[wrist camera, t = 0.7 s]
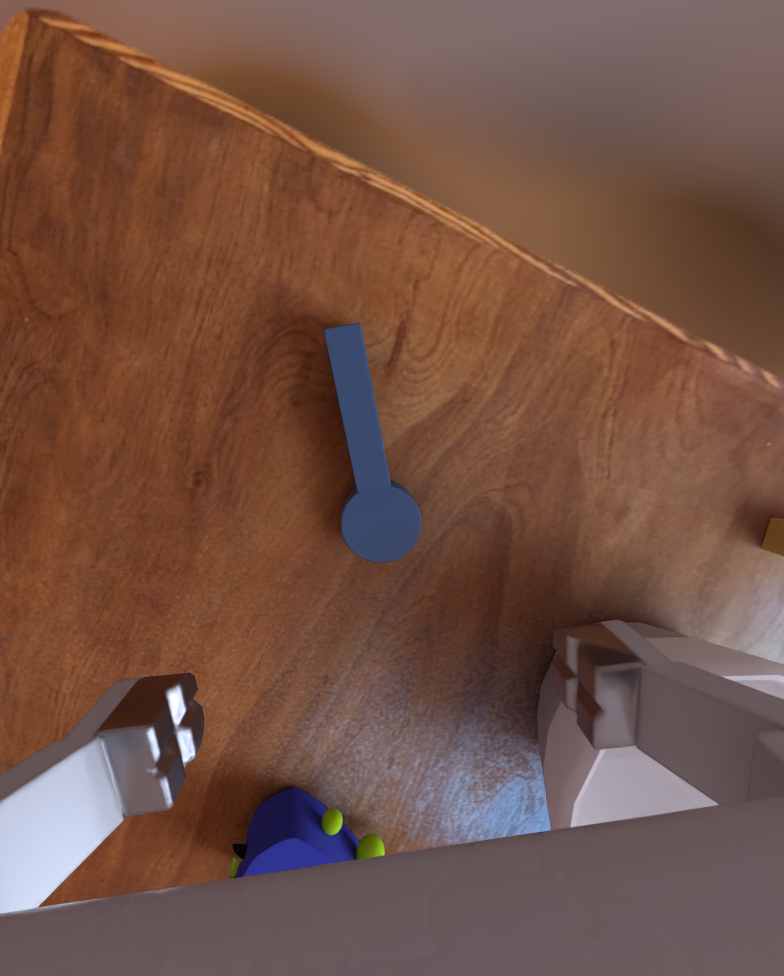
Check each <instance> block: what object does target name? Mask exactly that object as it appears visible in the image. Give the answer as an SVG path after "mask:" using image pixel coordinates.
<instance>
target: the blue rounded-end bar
mask: <svg viewBox="0 0 784 976" xmlns="http://www.w3.org/2000/svg"><path fill="white" fill-rule="evenodd" d="M323 331H324V336H325V341H326V345H327V350H328V355H329V360H330V364H331V369H332V374H333V379H334V384H335V388H336V393H337V398H338V403H339V407H340V412H341V417H342V422H343V427H344V431H345V436H346V441H347V446H348V450H349V455H350V460H351V465H352V470H353V474H354V479H355V484H356V488H355V489H354V490H353V491H352V492H351V493H350V494H349V496H348V497H347V499H346V501H345V503H344V506H343V510H342V516H341V532H342V535H343V538H344V540H345V542H346V544H347V546H348V547H349V548H350V549H351V550H352V551H353V552H354V553H355V554H356V555H358V556H359V557H361V558H363V559H366V560H368V561H373V562H388V561H392V560H395V559H398V558H400V557H402V556H403V555H405V554H406V553H407V552H408V551H409V550H411V548H412V547H413V546H414V545H415V543H416V541H417V540H418V537H419V535H420V531H421V522H422V521H421V514H420V511H419V508H418V506H417V504H416V502H415V501H414V499H413V497H412V495H411V494H410V493H409V492H408V491H407V490H406V489H405V488H404V487H403V486H402V485H400V484H398V483H396V482H394V481H391V480H390V477H389V471H388V466H387V461H386V456H385V450H384V445H383V440H382V435H381V429H380V424H379V419H378V413H377V408H376V403H375V398H374V392H373V387H372V382H371V377H370V371H369V366H368V361H367V355H366V350H365V345H364V340H363V334H362V329H361V324H360V323H355V324H349V325H344V326H338V327H332V328H327V329H324V330H323Z"/></svg>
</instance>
